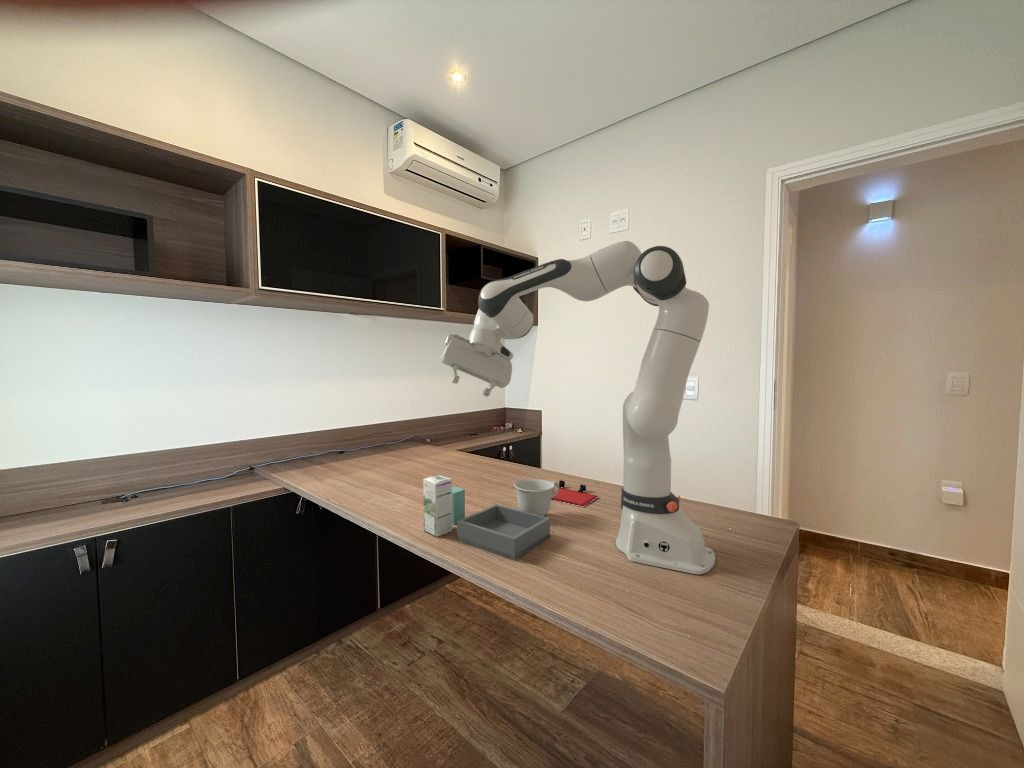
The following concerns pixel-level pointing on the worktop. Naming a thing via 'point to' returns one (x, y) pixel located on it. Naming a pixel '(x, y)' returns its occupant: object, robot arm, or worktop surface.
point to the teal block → (458, 504)
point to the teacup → (535, 495)
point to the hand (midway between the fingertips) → (470, 389)
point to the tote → (504, 530)
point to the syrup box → (437, 505)
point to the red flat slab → (573, 495)
